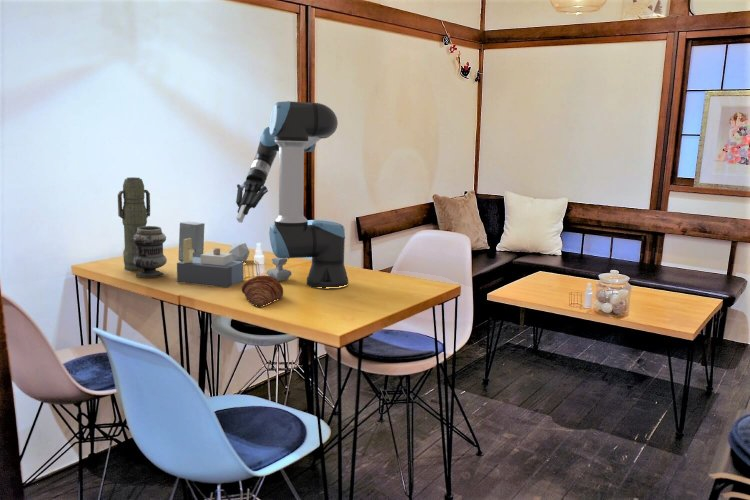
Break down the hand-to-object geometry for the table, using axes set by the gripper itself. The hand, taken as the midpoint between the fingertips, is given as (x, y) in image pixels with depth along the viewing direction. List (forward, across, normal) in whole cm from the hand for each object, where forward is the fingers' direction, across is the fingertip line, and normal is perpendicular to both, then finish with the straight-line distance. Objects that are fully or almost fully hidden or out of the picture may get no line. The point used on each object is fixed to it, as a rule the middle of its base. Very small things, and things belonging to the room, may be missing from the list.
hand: (239, 220), depth 254 cm
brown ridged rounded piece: (+38, -26, +9) cm, 47 cm away
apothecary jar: (+28, +27, -1) cm, 39 cm away
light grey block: (+22, 0, +3) cm, 22 cm away
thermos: (+22, +38, -6) cm, 45 cm away
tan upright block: (+25, +9, +7) cm, 27 cm away
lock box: (+27, +2, -1) cm, 27 cm away
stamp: (+20, -20, -9) cm, 29 cm away
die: (+3, +8, -26) cm, 27 cm away
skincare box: (+7, +27, -22) cm, 36 cm away
